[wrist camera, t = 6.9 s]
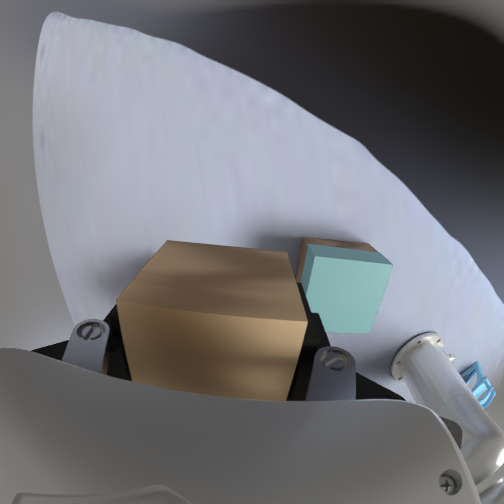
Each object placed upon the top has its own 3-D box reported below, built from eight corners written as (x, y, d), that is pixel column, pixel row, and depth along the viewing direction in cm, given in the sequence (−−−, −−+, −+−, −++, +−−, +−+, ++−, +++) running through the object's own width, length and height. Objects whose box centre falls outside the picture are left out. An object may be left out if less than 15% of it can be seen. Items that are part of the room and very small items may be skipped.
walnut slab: (368, 242, 37) (379, 252, 34) (353, 303, 41) (361, 317, 37) (301, 236, 37) (307, 246, 33) (291, 300, 41) (294, 315, 37)
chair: (481, 367, 49) (502, 394, 38) (459, 388, 51) (478, 417, 40) (475, 357, 47) (499, 386, 36) (452, 380, 50) (473, 411, 38)
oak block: (286, 251, 11) (308, 321, 7) (270, 346, 13) (276, 429, 8) (167, 240, 11) (116, 299, 7) (170, 335, 13) (141, 412, 8)
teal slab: (380, 252, 34) (392, 264, 30) (360, 316, 37) (369, 333, 33) (308, 243, 33) (314, 256, 29) (293, 313, 37) (297, 330, 33)
